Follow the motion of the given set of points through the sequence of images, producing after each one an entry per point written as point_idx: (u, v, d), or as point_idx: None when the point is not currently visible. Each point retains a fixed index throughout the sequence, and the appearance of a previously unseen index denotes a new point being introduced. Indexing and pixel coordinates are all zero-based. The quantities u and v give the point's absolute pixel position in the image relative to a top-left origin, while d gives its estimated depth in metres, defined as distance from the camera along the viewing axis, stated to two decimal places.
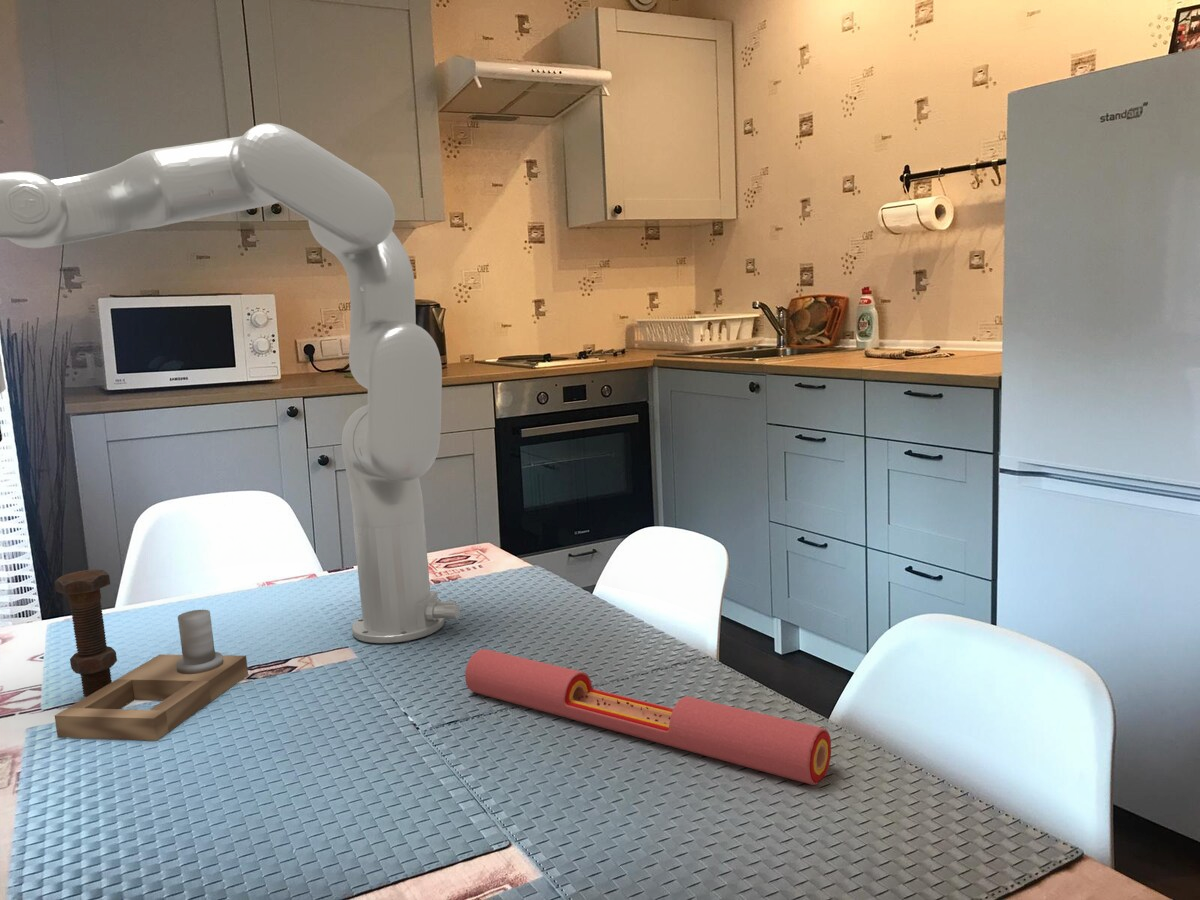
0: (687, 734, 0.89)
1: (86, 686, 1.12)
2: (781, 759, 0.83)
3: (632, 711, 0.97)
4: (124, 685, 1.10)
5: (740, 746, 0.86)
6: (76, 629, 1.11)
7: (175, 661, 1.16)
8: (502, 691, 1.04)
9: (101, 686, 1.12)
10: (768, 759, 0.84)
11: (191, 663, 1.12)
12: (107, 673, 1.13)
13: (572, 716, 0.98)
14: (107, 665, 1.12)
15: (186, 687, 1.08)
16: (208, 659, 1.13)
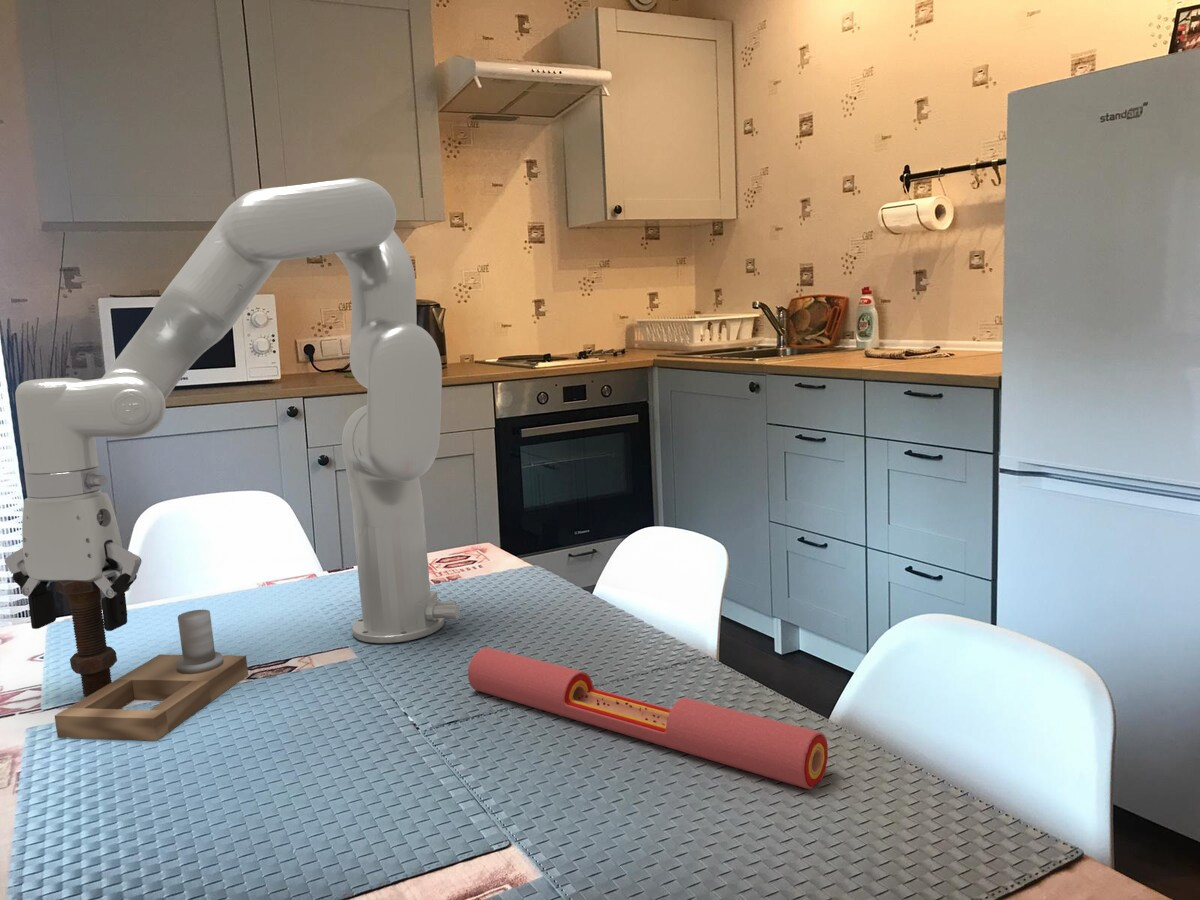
0: (683, 736, 0.89)
1: (86, 686, 1.12)
2: (776, 763, 0.83)
3: (631, 711, 0.97)
4: (124, 685, 1.10)
5: (736, 749, 0.85)
6: (76, 629, 1.11)
7: (175, 661, 1.16)
8: (504, 690, 1.04)
9: (101, 686, 1.12)
10: (763, 762, 0.84)
11: (191, 663, 1.12)
12: (107, 673, 1.13)
13: (572, 716, 0.98)
14: (107, 665, 1.12)
15: (186, 687, 1.08)
16: (208, 659, 1.13)
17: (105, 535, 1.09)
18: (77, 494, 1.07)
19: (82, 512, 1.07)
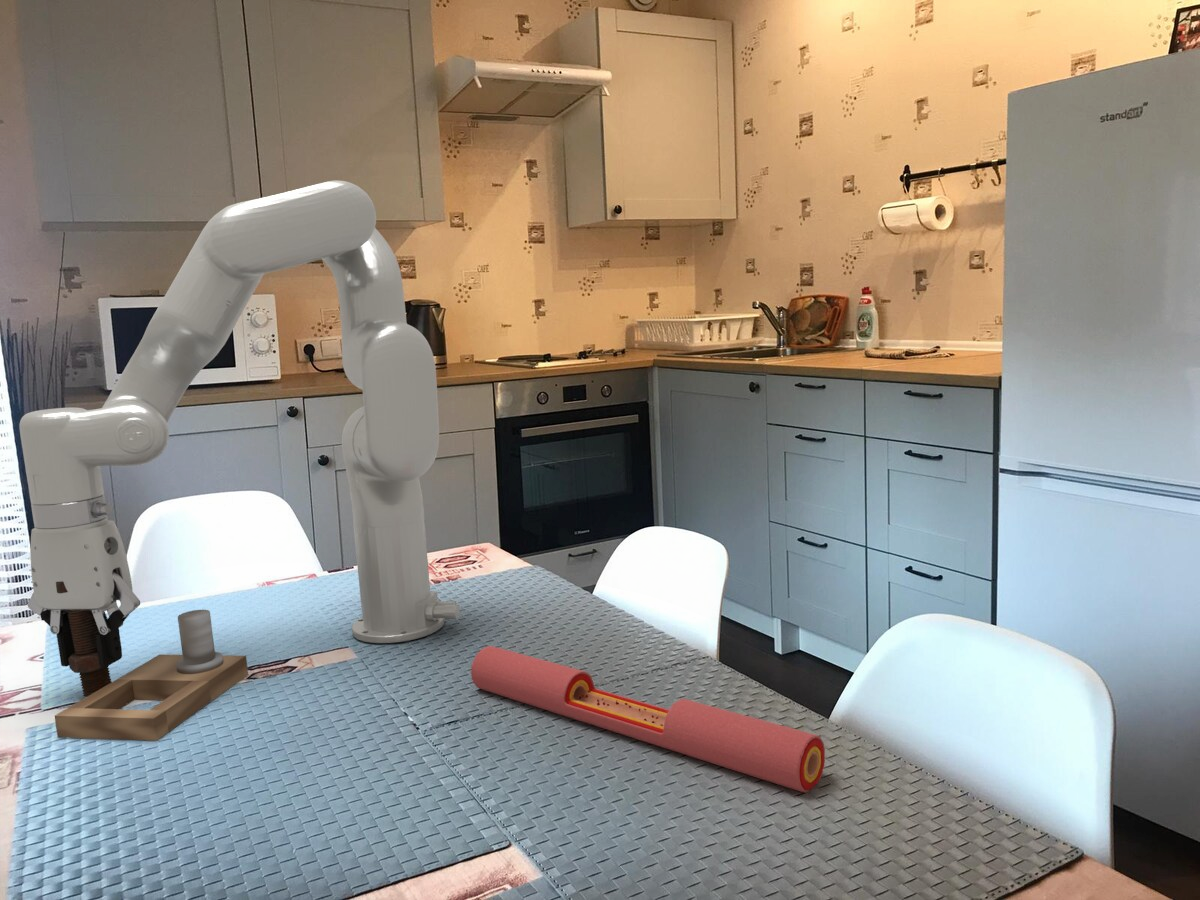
0: (681, 737, 0.89)
1: (85, 685, 1.12)
2: (771, 765, 0.82)
3: (631, 712, 0.97)
4: (124, 685, 1.10)
5: (732, 751, 0.85)
6: (73, 628, 1.11)
7: (175, 661, 1.16)
8: (506, 688, 1.04)
9: (100, 684, 1.12)
10: (759, 765, 0.83)
11: (191, 663, 1.12)
12: (106, 671, 1.13)
13: (572, 715, 0.98)
14: None
15: (186, 687, 1.08)
16: (208, 659, 1.13)
17: (113, 563, 1.10)
18: (84, 523, 1.08)
19: (89, 541, 1.08)
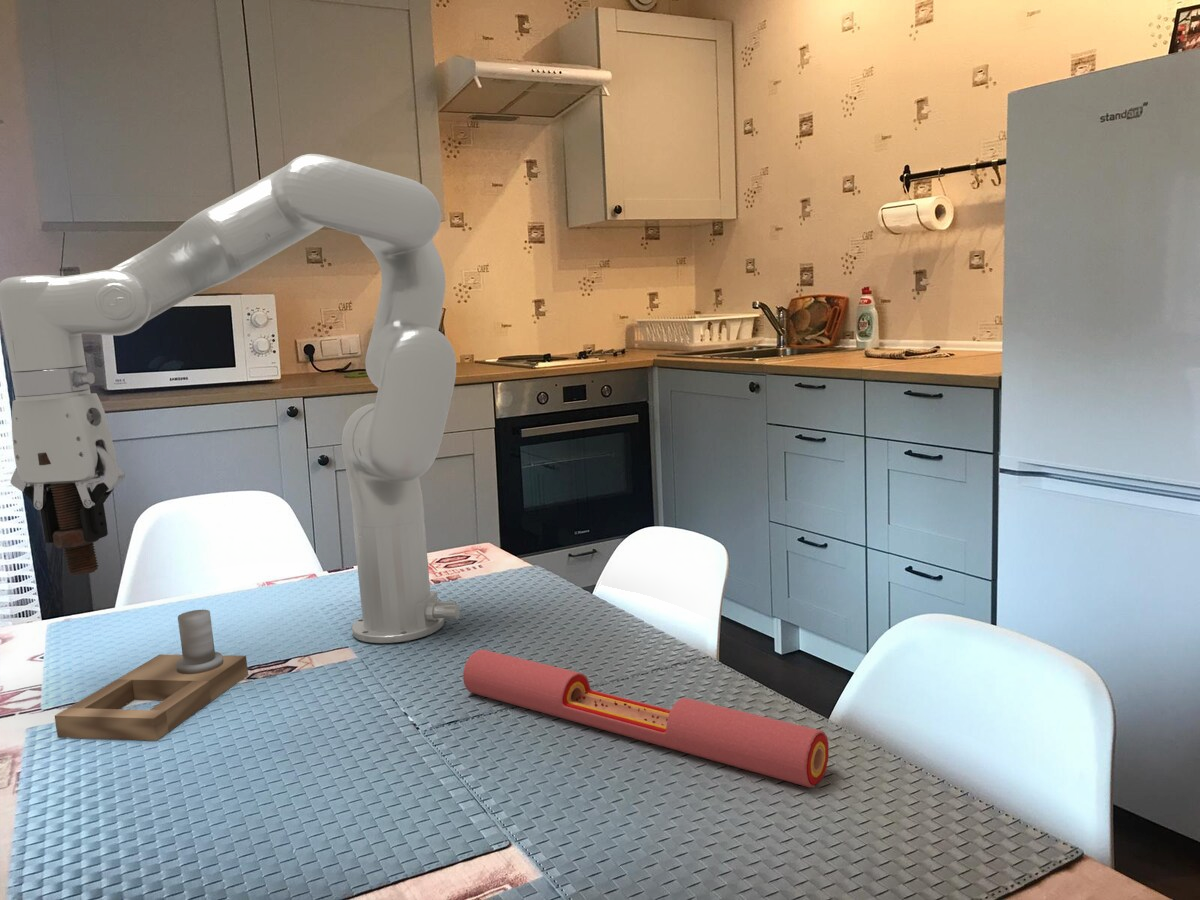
0: (684, 736, 0.89)
1: (70, 561, 1.10)
2: (778, 761, 0.83)
3: (630, 712, 0.97)
4: (124, 685, 1.10)
5: (737, 748, 0.86)
6: (56, 503, 1.09)
7: (175, 661, 1.16)
8: (500, 692, 1.03)
9: (85, 561, 1.10)
10: (765, 761, 0.84)
11: (191, 663, 1.12)
12: (91, 549, 1.11)
13: (570, 717, 0.98)
14: None
15: (186, 687, 1.08)
16: (208, 659, 1.13)
17: (96, 434, 1.08)
18: (65, 392, 1.06)
19: (71, 410, 1.06)
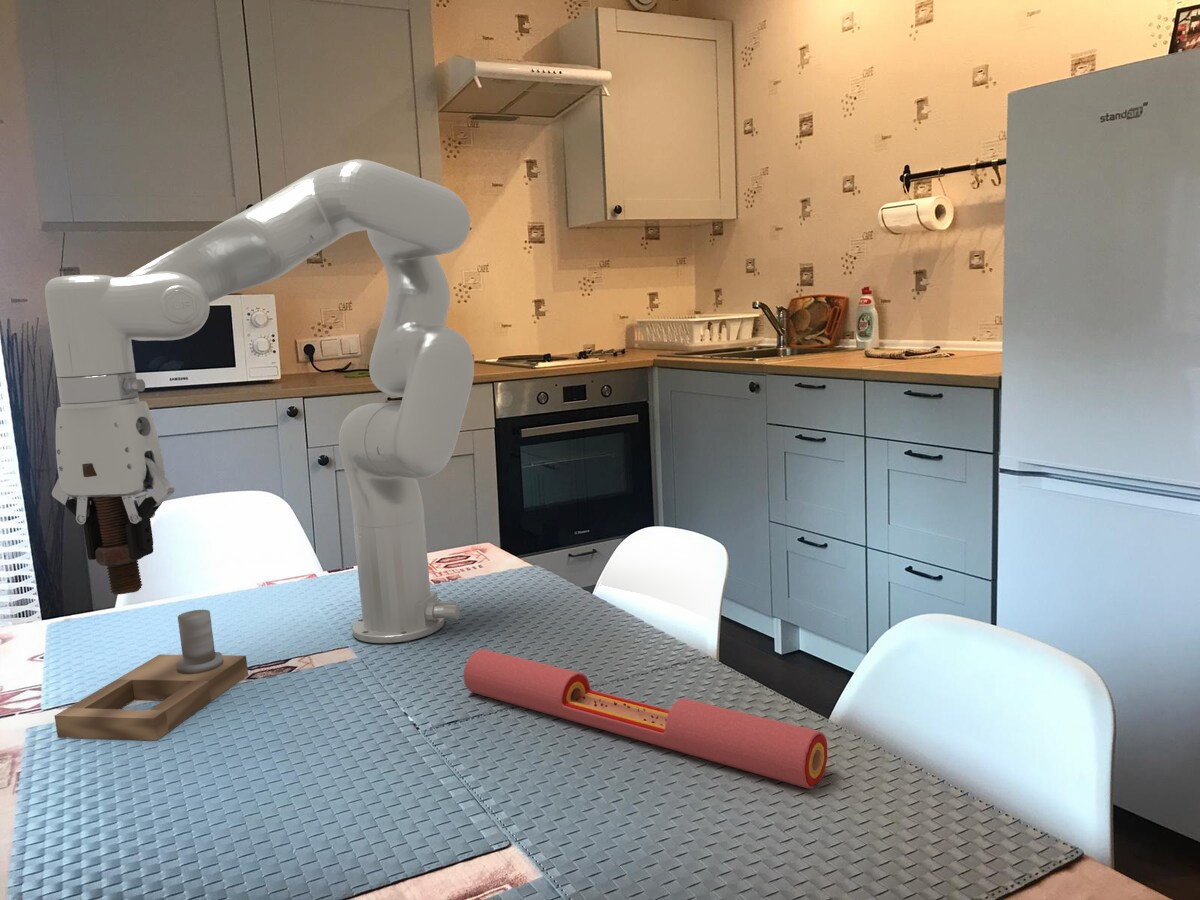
0: (683, 736, 0.89)
1: (113, 580, 1.03)
2: (776, 762, 0.83)
3: (629, 712, 0.97)
4: (124, 685, 1.10)
5: (736, 749, 0.85)
6: (100, 517, 1.02)
7: (175, 661, 1.16)
8: (500, 691, 1.03)
9: (130, 580, 1.03)
10: (763, 762, 0.84)
11: (191, 663, 1.12)
12: (135, 566, 1.04)
13: (569, 717, 0.98)
14: None
15: (186, 687, 1.08)
16: (208, 659, 1.13)
17: (145, 445, 1.01)
18: (114, 400, 0.99)
19: (120, 419, 0.99)
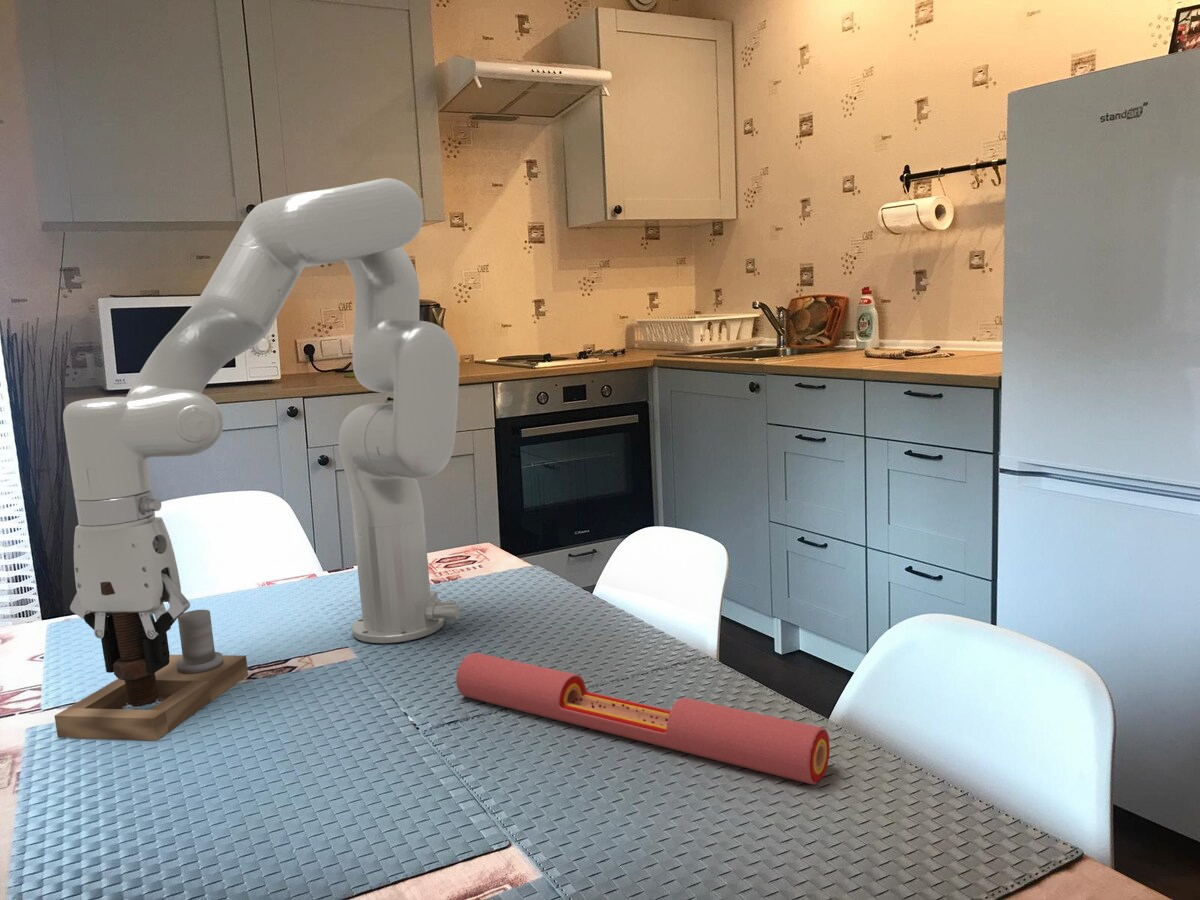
0: (685, 736, 0.89)
1: (131, 693, 1.05)
2: (781, 759, 0.83)
3: (627, 713, 0.96)
4: (124, 685, 1.10)
5: (739, 747, 0.86)
6: (118, 632, 1.04)
7: (175, 661, 1.16)
8: (495, 695, 1.03)
9: (147, 692, 1.05)
10: (768, 759, 0.84)
11: (191, 663, 1.12)
12: (152, 678, 1.06)
13: (567, 719, 0.98)
14: None
15: (186, 687, 1.08)
16: (208, 659, 1.13)
17: (162, 563, 1.03)
18: (131, 521, 1.01)
19: (137, 539, 1.01)
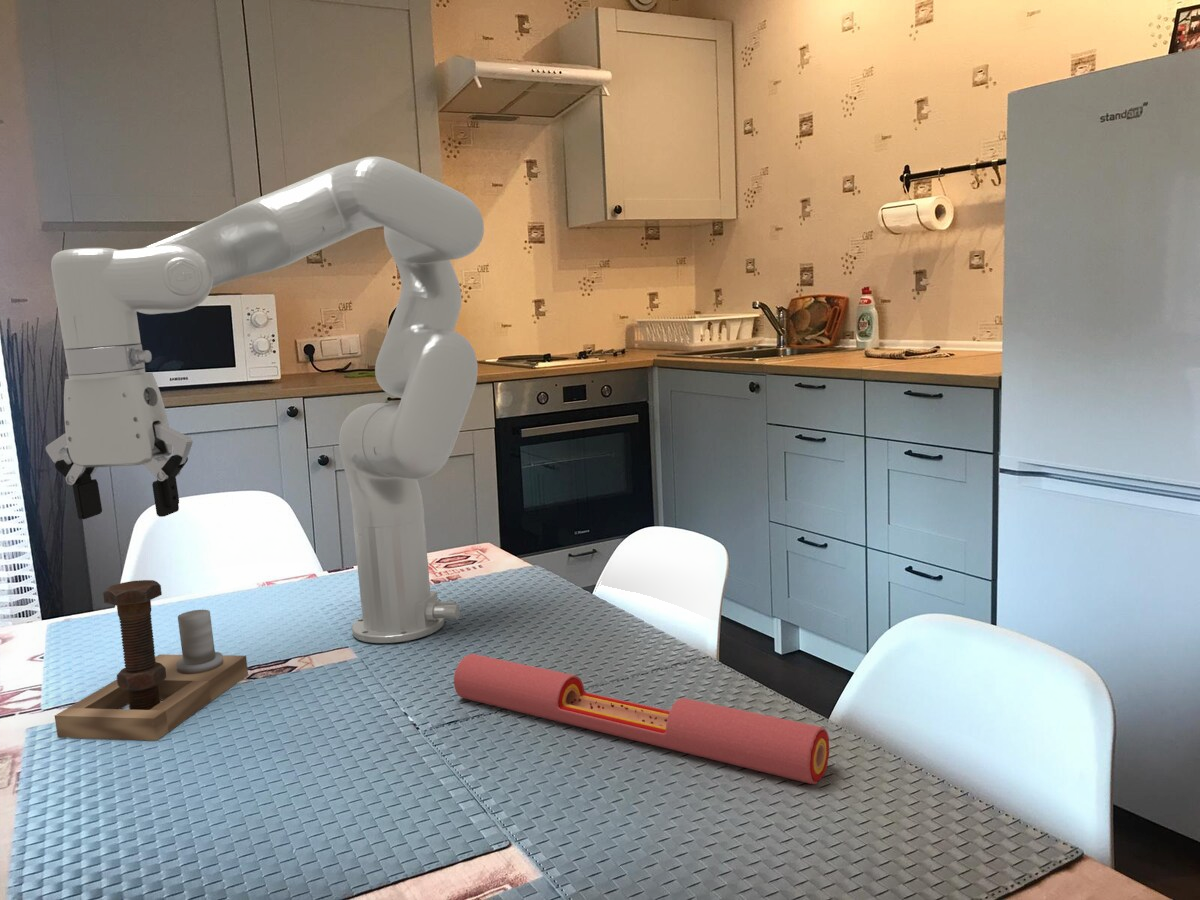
0: (684, 736, 0.89)
1: (134, 704, 1.05)
2: (781, 759, 0.83)
3: (626, 714, 0.96)
4: None
5: (739, 747, 0.86)
6: (125, 643, 1.05)
7: (175, 661, 1.16)
8: (493, 696, 1.02)
9: (150, 704, 1.06)
10: (768, 759, 0.84)
11: (191, 663, 1.12)
12: (156, 690, 1.07)
13: (565, 720, 0.97)
14: (157, 681, 1.06)
15: (186, 687, 1.08)
16: (208, 659, 1.13)
17: (153, 415, 1.03)
18: (122, 370, 1.01)
19: (128, 389, 1.01)
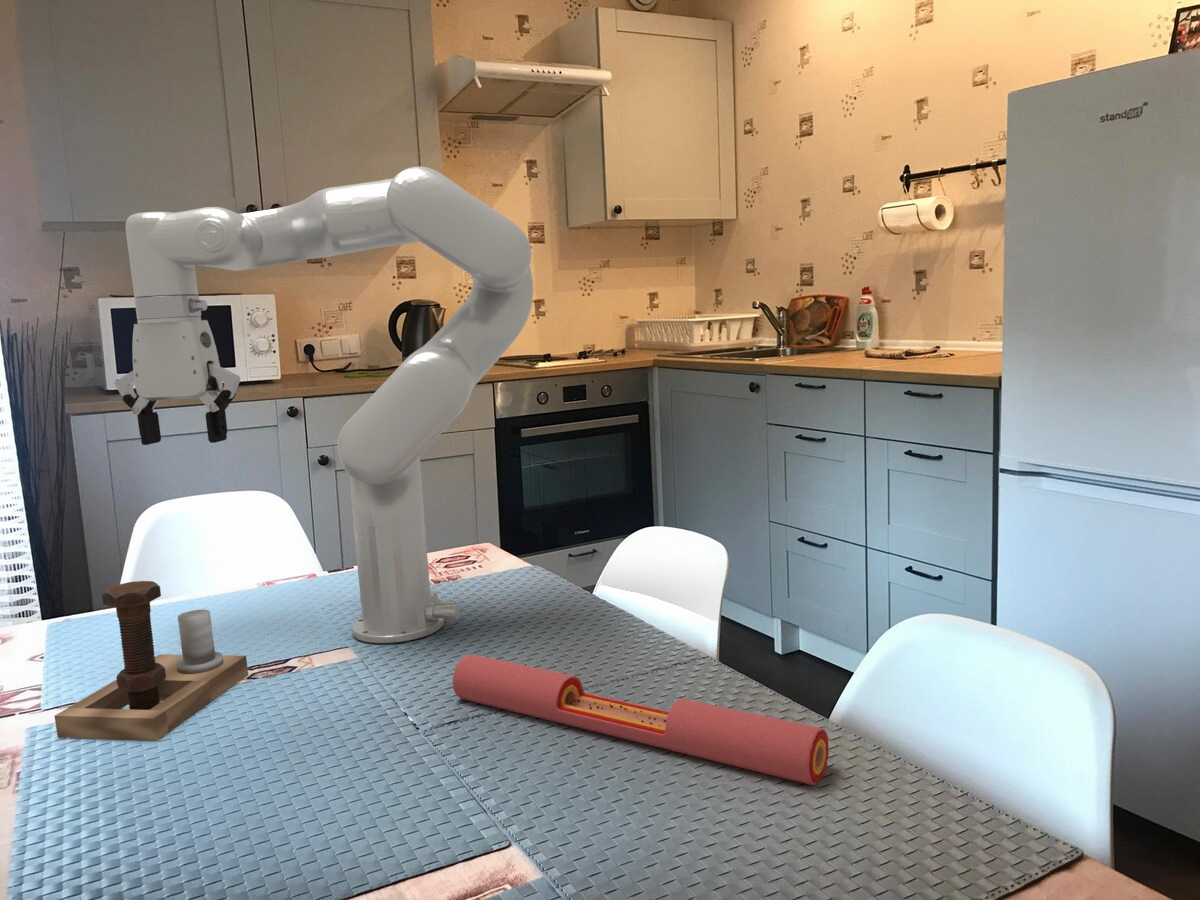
0: (683, 737, 0.89)
1: (134, 705, 1.05)
2: (780, 760, 0.83)
3: (625, 714, 0.96)
4: None
5: (738, 748, 0.86)
6: (125, 644, 1.04)
7: (175, 661, 1.16)
8: (491, 697, 1.02)
9: (150, 705, 1.06)
10: (767, 760, 0.84)
11: (191, 663, 1.12)
12: (156, 691, 1.06)
13: (564, 721, 0.97)
14: (157, 682, 1.06)
15: (186, 687, 1.08)
16: (208, 659, 1.13)
17: (207, 355, 1.21)
18: (183, 316, 1.19)
19: (187, 332, 1.19)
